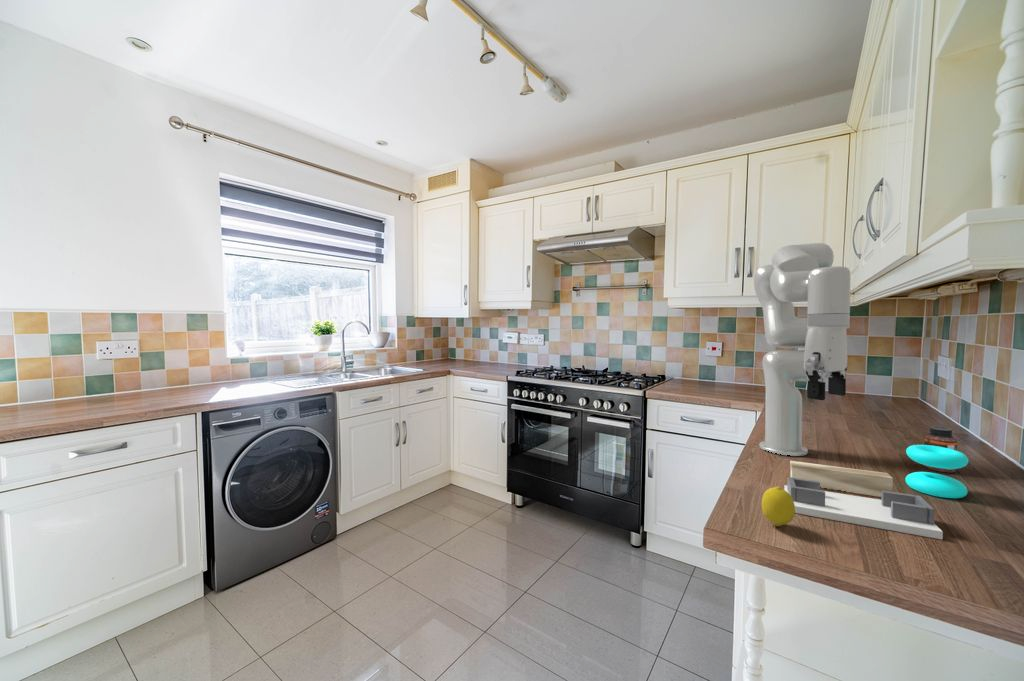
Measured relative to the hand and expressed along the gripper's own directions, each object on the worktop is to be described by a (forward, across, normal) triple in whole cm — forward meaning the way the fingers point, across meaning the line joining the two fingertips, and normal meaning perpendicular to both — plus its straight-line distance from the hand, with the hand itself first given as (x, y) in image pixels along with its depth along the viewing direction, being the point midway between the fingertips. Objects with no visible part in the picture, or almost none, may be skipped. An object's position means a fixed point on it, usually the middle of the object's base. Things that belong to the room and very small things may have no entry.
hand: (826, 396), depth 90 cm
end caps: (+22, +4, +7) cm, 23 cm away
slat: (+24, -8, -1) cm, 25 cm away
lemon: (+24, +23, +2) cm, 33 cm away
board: (+23, +4, +6) cm, 24 cm away
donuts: (+24, -25, +12) cm, 37 cm away
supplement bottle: (+24, -45, +8) cm, 52 cm away
